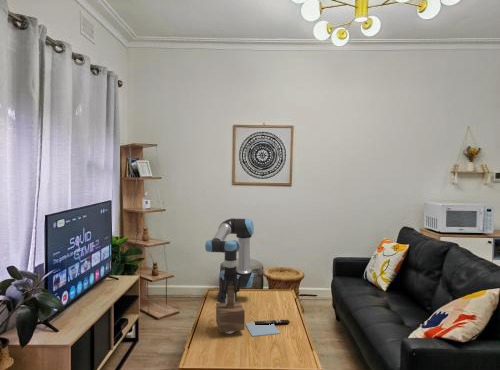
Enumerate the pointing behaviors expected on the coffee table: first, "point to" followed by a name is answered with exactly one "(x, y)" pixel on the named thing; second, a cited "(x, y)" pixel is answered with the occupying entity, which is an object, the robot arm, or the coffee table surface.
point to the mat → (261, 329)
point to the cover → (230, 313)
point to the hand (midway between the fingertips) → (230, 302)
